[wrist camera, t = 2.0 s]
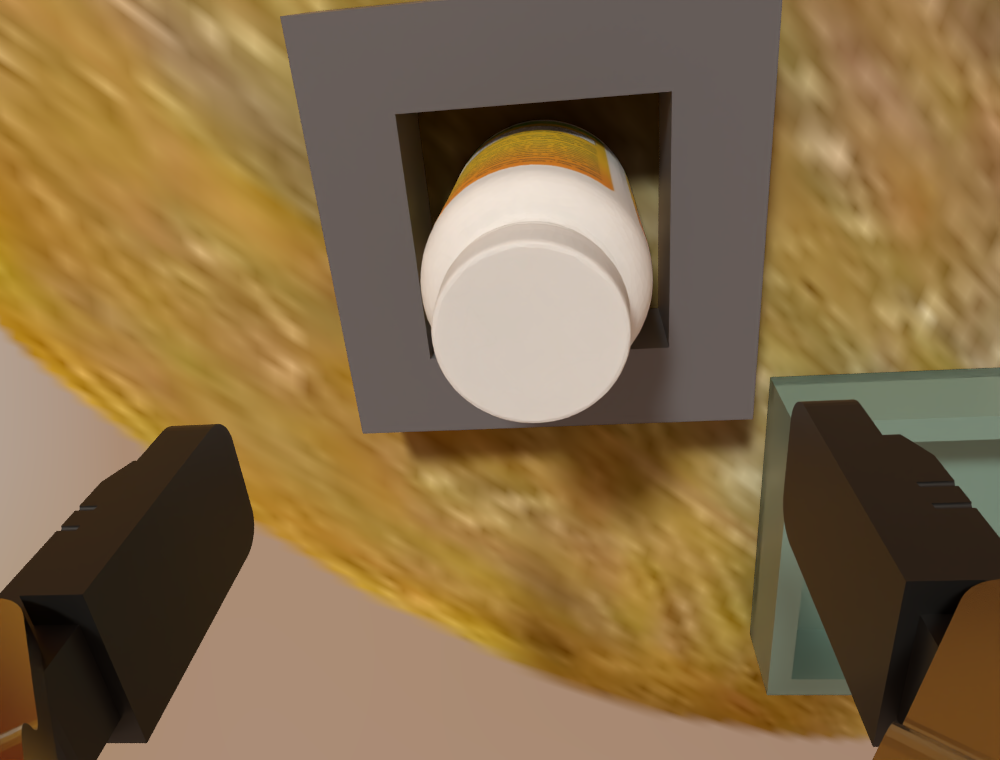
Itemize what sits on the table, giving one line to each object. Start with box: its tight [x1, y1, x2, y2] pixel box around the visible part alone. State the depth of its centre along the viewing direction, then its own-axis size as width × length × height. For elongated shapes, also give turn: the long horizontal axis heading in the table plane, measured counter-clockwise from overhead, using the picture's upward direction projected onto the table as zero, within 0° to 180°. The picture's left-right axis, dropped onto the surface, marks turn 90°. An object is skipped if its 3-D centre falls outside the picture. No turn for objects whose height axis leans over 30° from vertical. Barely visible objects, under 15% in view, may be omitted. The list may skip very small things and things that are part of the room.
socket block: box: [280, 0, 782, 433], centre depth 22 cm, size 12×12×3 cm
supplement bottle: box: [420, 120, 653, 423], centre depth 19 cm, size 5×5×10 cm
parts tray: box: [750, 368, 1000, 695], centre depth 26 cm, size 12×12×3 cm
